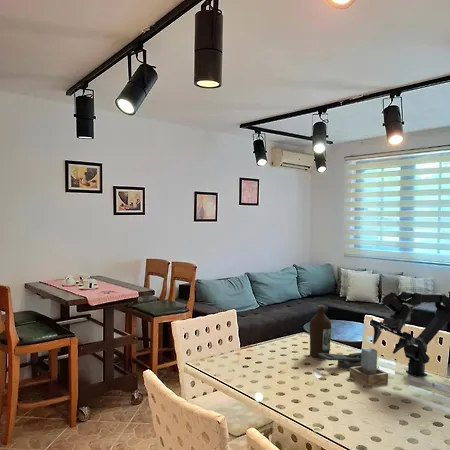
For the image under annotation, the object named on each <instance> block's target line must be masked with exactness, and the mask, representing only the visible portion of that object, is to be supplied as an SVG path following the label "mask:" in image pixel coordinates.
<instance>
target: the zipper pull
mask: <svg viewBox="0 0 450 450" xmlns="http://www.w3.org/2000/svg"><path fill="white" fill-rule="evenodd" d="M361 353H362V351H361V352H354V353H349V354H338V353H329V354H326V353H318V355H319V356H320V357H322V358H324V359H325V360H327V361H337V366H338V367H339V368H341V369H344V370H350V367H357V366H361ZM324 359H323V360H324Z"/></svg>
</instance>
